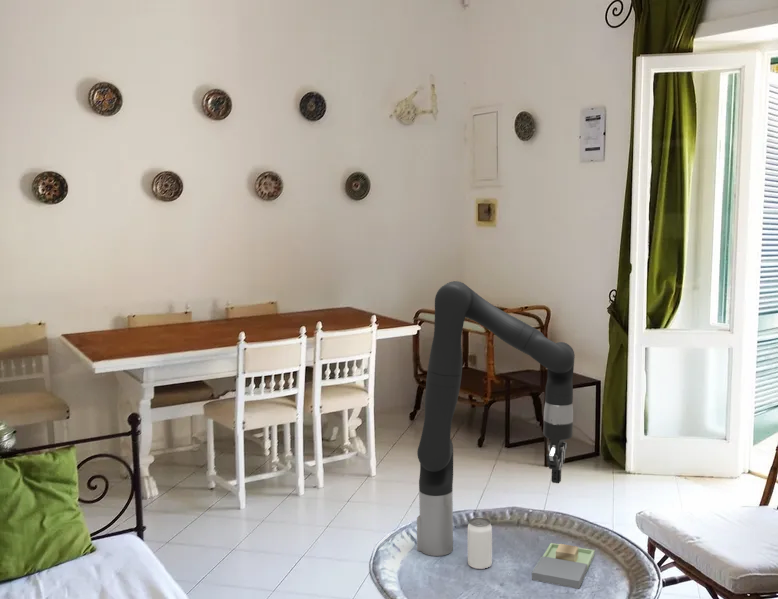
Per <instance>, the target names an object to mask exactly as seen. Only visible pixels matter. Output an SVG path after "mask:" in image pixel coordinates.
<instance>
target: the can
mask: <svg viewBox="0 0 778 599" xmlns="http://www.w3.org/2000/svg"><path fill="white" fill-rule="evenodd" d="M466 539H467V564H468V566H469V567H470V568H472V569H474V568H475V570H486V569H485V568H487V569H489V568H491V566H492V564H493V527H492V525H491V520H490V519H488V518H486V517H479V516H478V517H473V518H470V519H469V521H468V525H467V538H466ZM488 567H489V568H488Z"/></svg>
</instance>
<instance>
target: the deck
mask: <svg viewBox="0 0 778 599" xmlns="http://www.w3.org/2000/svg"><path fill="white" fill-rule="evenodd" d="M587 572H588V570H587V564H584V563H578V562H573V561H567V560H561V559H556V558H550V557H544V556H541V557H540V558H539V560H538V562H537V563H536V565H535V566H534V568H533V570H532V572H531V580H532V579H533V580H532V581H535V582H541V581H542V583H546V582H547V583H548V584H552V583H553V584H552V585H559V586H563V587H567V588H574V589H580V587H581V586H582V583H583V582H584V578H585V576H586V575H587Z"/></svg>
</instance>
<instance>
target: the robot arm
mask: <svg viewBox="0 0 778 599" xmlns="http://www.w3.org/2000/svg"><path fill="white" fill-rule="evenodd" d="M465 318H466V319H469V320H472V321H474V322H476V323H478V324H479V325H481V326H483V327H484V328H486V329H487V330H488V331H489V332H491V333H492V334H493V335H495V336H496V337H497V338H499V339H500V340H502V341H503V342H505V343H506V344H507V345H509V346H511V347H513V348H514V349H516V350H519V351H520V352H522V354H523V353H524V354H526V355H528V356H529V357H531V358H532V359H533V360H534V361H536V362H537V363H539V364H540V365H541V366H543V368H544V367H545V369H546V370H547V380H546V385H545V398H544V400H545V403H544V409H543V430H542V434H543V436H544V437H545V438H547V439H549V440H550V442H549V443H548V446H547V447H548V448H547V451H548V453H546V460H547V465H548V469H549V470H551V480H550V481H551V483H553V484H560V483H561V482H562V469H563V467H564V464H565V460H566V454H567V449H568V445H569V444H568V442H566V441H567V440H570V439H572V437H573V431H574V430H573V428H574V424H573V423H574V407H573V406H574V405H573V400H574V386H573V377H574V367H575V351H574V349H573V347H572V346H571V345H570V344H569V343H567V342H563V341H558V342H555V341H553V340H551V339H549V338H548V337H546V336H545V335H544V333H543V332H541V331H540V330H538V329H537V328H535V327H533V326H532V325H531V324H528V323H526V322H524V321H523V320H521V319H518V318H517V317H515V316H513V315H512V314H509V313H507V312H505V311H504V310H502V309H501V308H498V307H497V306H495V305H493V303H491V302H489V301H488V300H487V299H484V298H483V297H482V296H480V295H479V294H478V293H477V292H475V291H474V290H473V289H472V288H470V286H468V285H467V284H465V283H464V282H462V281H458V280H456V281H454V280H453V281H449V282H447V283H445V284H444V285H442V286H441V287H440V288H439V289H438V290H437V292H436V294H435V297H434V325H433V326H434V328H433V329H434V330H433V338H432V343H431V347H430V354H429V358H428V364H427V365H428V366H427V371H426V372H427V374H426V380H425V381H426V382H425V393H424V394H425V395H424V396H425V398H424V421H423V427H422V430H421V436H420V440H419V444H418V446H417V447H418V448H417V451H416V452H417V454H416V455H417V459H418V462H419V465H420V466H419V468H420V469H419V477H418V478H419V479H418V495H419V496H418V497H419V499H418V500H419V501H418V503H419V508H418V509H419V510H418V511H419V515H418V516H417V517H416V544H417V545H416V546H417V547H416V548H417V549H416V551H418V552H419V551H420V552H421V553H423V554H425V555H427V556H432V557H433V556H434V557H441V556H445V555H446V556H447V555H448V554H451V553H452V552H453V551H454V513H453V512H454V511H453V509H454V507H453V506H454V504H453V503H454V501H453V496H454V495H453V494H454V493H453V490H454V489H453V487H454V486H453V485H454V484H453V483H454V444H453V440H452V439H451V435H452V434H451V433H452V431H451V430H452V422H453V417H454V414H455V411H456V408H457V403H458V398H459V395H460V389H461V385H462V383H461V381H462V375H463V351H462V350H463V349H462V332H463V328H464V323H465Z"/></svg>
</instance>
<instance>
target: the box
mask: <svg viewBox="0 0 778 599" xmlns="http://www.w3.org/2000/svg"><path fill="white" fill-rule="evenodd" d="M559 544H560V543H553V542H550V544H549V545H548V547H547V548H546V550H545V552H544V553H543V556H544V557H550V558H556V550H557V548H558V546H559ZM595 551H596V550H595V549H591V548H590V549H589V548H584V547H578V559H577V561H576V562H578V563H584V564H587V571H588V570H589V568H590V566H591V564H592V562H593V560H594V557H595Z"/></svg>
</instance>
